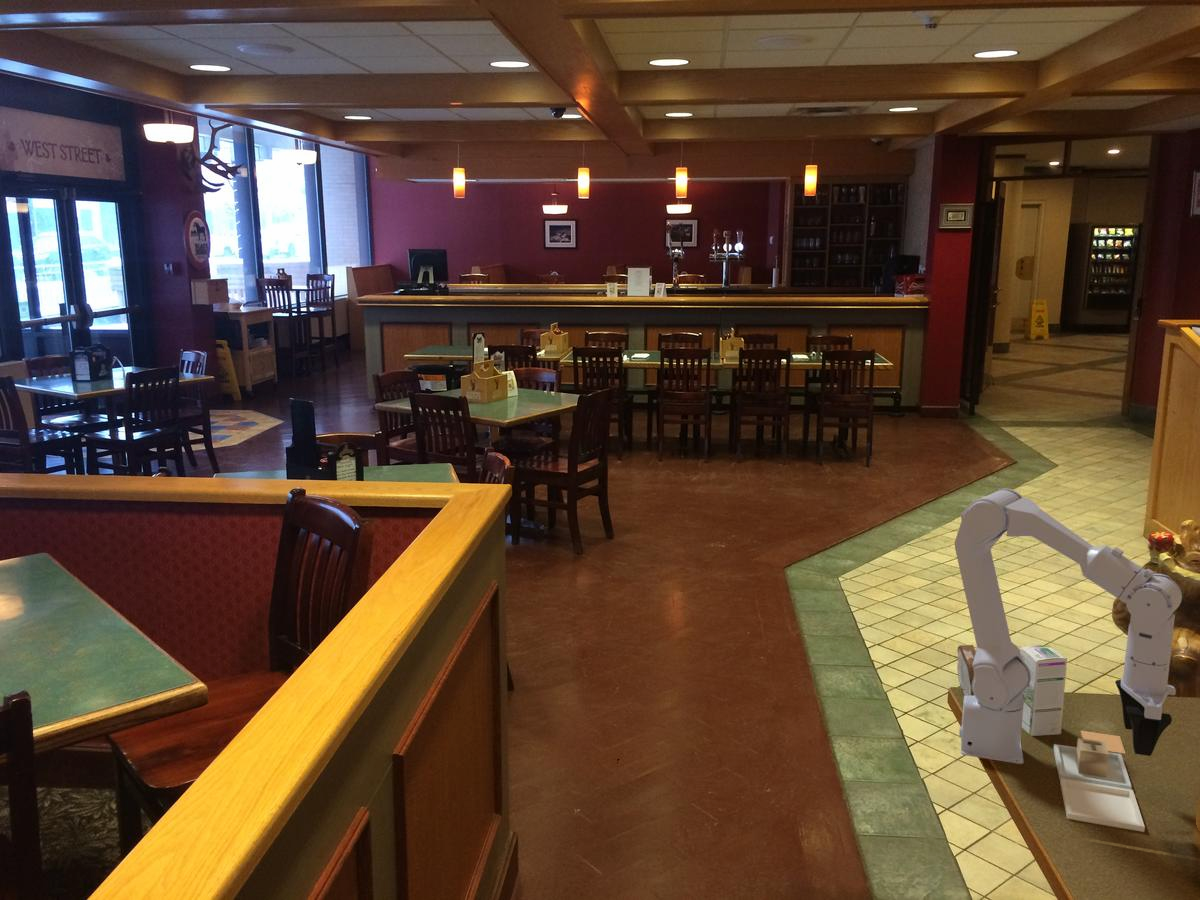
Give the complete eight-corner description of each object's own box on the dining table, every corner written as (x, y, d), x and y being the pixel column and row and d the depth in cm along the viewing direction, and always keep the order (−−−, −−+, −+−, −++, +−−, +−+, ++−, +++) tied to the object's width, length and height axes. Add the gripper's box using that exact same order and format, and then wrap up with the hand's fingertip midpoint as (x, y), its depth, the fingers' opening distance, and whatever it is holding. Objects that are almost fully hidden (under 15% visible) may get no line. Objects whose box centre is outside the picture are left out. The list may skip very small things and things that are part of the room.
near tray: (1066, 820, 138) (1067, 813, 138) (1059, 785, 148) (1060, 778, 147) (1143, 834, 135) (1144, 826, 135) (1132, 796, 144) (1132, 789, 144)
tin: (985, 714, 170) (988, 671, 168) (966, 713, 171) (970, 670, 169) (970, 678, 185) (973, 638, 183) (953, 677, 185) (956, 636, 183)
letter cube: (1078, 773, 150) (1080, 749, 149) (1075, 760, 154) (1077, 737, 153) (1106, 777, 149) (1109, 753, 148) (1102, 764, 152) (1105, 741, 152)
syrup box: (1062, 736, 162) (1069, 657, 159) (1029, 738, 162) (1036, 659, 159) (1043, 720, 168) (1050, 644, 165) (1012, 722, 167) (1018, 645, 164)
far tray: (1059, 781, 148) (1059, 774, 148) (1053, 750, 158) (1053, 743, 157) (1130, 793, 145) (1131, 786, 145) (1120, 760, 154) (1121, 754, 154)
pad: (1084, 749, 158) (1085, 747, 158) (1080, 732, 163) (1080, 730, 163) (1125, 755, 156) (1125, 753, 156) (1119, 738, 161) (1119, 736, 161)
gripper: (1190, 682, 131) (1179, 770, 134) (1167, 641, 144) (1157, 722, 147) (1133, 675, 133) (1123, 762, 136) (1115, 635, 147) (1106, 715, 149)
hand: (1137, 741), depth 142 cm, fingers open, 7 cm apart
